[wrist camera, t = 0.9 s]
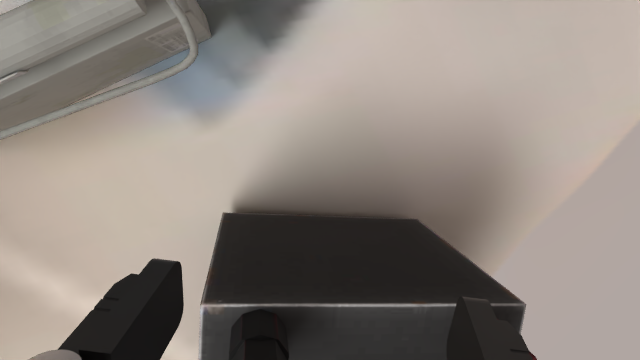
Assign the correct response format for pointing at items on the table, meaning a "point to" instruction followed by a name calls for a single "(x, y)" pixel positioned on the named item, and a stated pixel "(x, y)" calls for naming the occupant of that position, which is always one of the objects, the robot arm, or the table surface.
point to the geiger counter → (87, 53)
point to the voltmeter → (337, 290)
